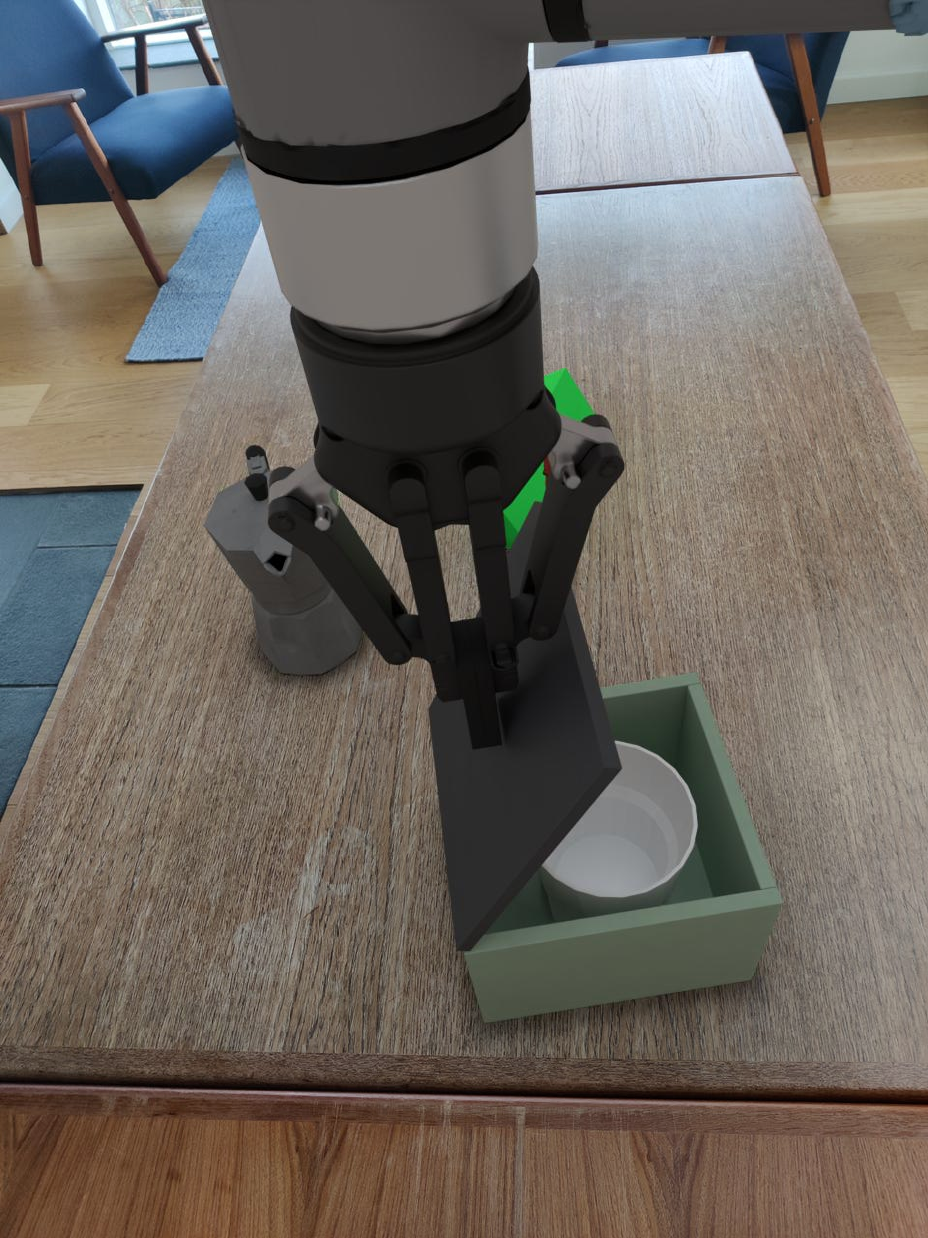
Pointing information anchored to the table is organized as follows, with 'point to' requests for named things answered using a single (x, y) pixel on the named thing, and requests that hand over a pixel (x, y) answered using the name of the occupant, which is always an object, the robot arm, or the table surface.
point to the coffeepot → (280, 580)
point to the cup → (624, 842)
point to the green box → (652, 937)
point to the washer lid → (520, 766)
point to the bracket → (568, 405)
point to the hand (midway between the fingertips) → (483, 724)
